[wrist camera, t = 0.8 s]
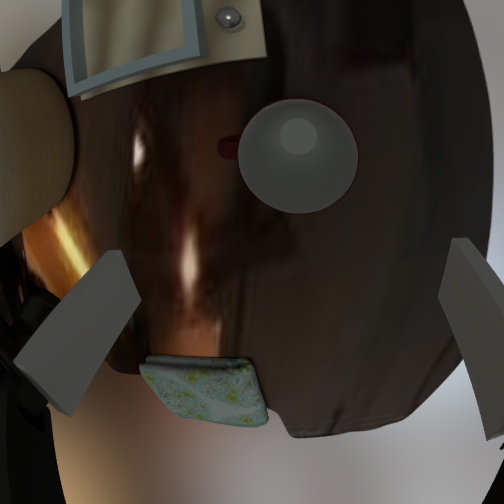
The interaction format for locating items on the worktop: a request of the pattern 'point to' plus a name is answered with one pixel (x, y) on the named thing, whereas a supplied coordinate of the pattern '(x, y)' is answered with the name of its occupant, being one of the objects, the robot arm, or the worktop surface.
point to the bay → (78, 69)
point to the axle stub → (230, 19)
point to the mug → (295, 155)
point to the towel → (207, 388)
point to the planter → (32, 148)
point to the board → (162, 35)
